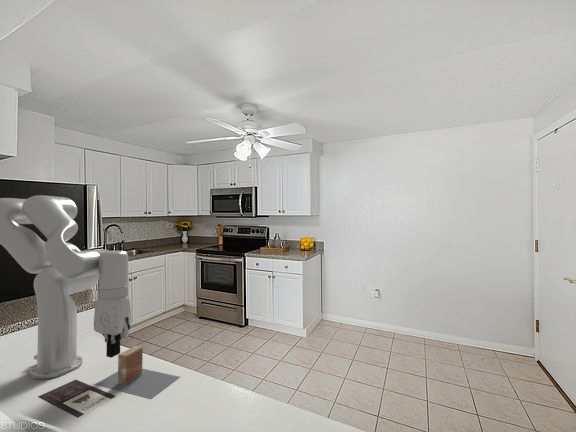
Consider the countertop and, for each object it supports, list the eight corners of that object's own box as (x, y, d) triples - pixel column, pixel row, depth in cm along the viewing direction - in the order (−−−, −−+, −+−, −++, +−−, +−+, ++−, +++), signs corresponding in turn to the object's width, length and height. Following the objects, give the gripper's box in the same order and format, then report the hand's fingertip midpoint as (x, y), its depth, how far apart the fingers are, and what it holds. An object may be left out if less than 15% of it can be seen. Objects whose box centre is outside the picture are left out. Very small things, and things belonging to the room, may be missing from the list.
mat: (94, 386, 80) (94, 384, 80) (128, 367, 90) (128, 365, 90) (151, 401, 73) (151, 399, 73) (180, 378, 84) (180, 376, 84)
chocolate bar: (75, 379, 82) (115, 396, 74) (75, 382, 82) (115, 399, 74) (37, 396, 74) (77, 417, 66) (37, 400, 74) (77, 421, 66)
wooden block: (118, 383, 80) (118, 354, 80) (135, 372, 86) (136, 345, 86) (125, 385, 79) (125, 355, 79) (142, 374, 85) (143, 346, 85)
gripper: (83, 293, 84) (82, 357, 84) (121, 298, 79) (121, 365, 79) (106, 288, 91) (106, 346, 91) (143, 291, 86) (143, 353, 86)
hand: (113, 355), depth 85 cm, fingers closed
